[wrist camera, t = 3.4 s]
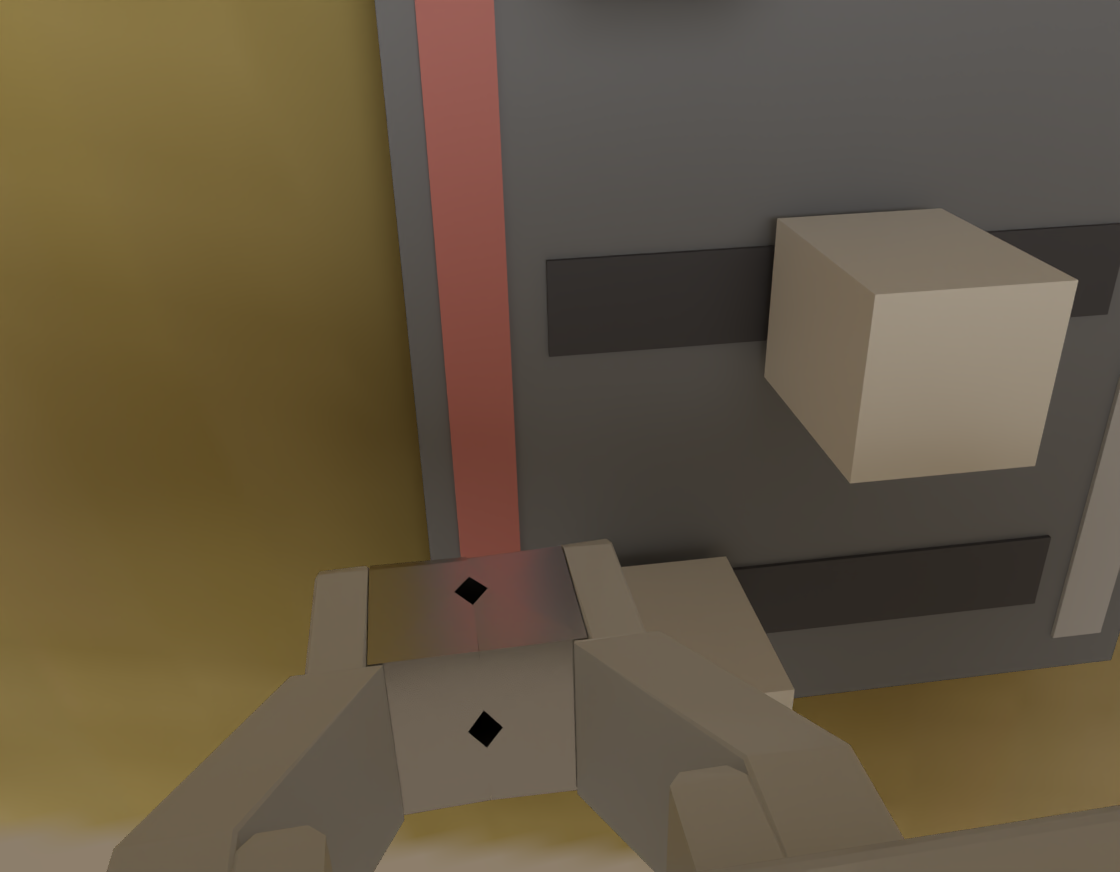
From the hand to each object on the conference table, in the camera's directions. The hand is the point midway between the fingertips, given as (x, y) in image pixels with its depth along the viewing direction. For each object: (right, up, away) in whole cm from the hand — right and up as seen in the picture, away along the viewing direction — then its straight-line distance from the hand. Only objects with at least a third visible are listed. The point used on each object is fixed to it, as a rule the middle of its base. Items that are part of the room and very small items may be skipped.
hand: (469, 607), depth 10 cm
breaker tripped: (+6, +4, +8) cm, 11 cm away
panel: (+6, +5, +10) cm, 13 cm away
